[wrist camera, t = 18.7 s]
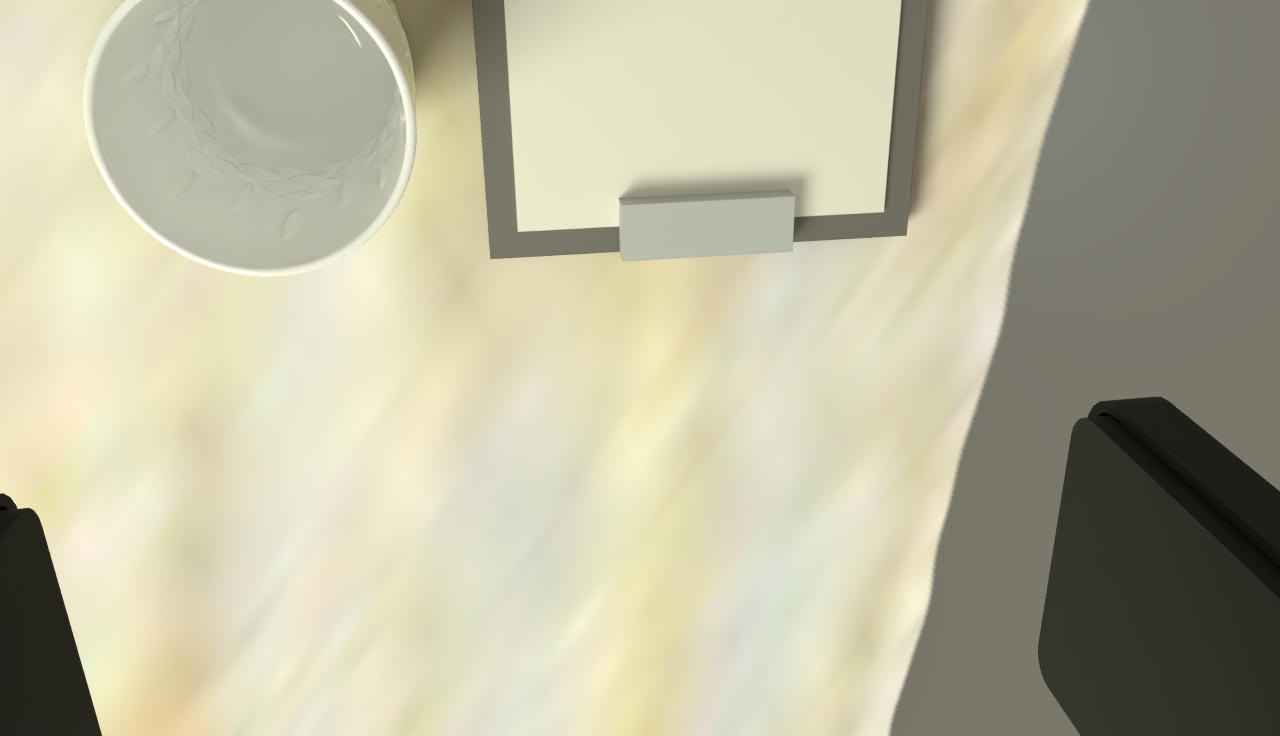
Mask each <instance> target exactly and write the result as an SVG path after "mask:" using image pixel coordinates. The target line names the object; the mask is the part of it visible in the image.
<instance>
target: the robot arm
mask: <svg viewBox="0 0 1280 736" xmlns="http://www.w3.org/2000/svg"><path fill="white" fill-rule="evenodd" d="M1038 657H1039V665H1040V669H1041V673H1042V675H1043V678H1044V681H1045V683H1046V684H1047V686H1048V688H1049V689H1050V691H1051V692H1052V694H1053V695H1054V697H1055V698H1056V700H1057V701H1058V703H1059V704H1060V706H1061V707H1062V709H1063V710H1064V712H1065V713H1066V715H1067V716H1068V718H1069V719H1070V720H1071V722H1072V723H1073V725H1074V726H1075V728H1076V729H1077V731H1078V732H1079V734H1080V735H1081V736H1280V491H1278V490H1277V489H1276V488H1275V487H1274V486H1272V485H1271V484H1270V483H1269V482H1267V481H1266V480H1265V479H1264V478H1262V477H1261V476H1260V475H1259V474H1258V473H1256V472H1255V471H1254V470H1253V469H1252V468H1250V467H1249V466H1248V465H1247V464H1245V463H1244V462H1243V461H1242V460H1240V459H1239V458H1238V457H1237V456H1235V455H1234V454H1233V453H1232V452H1231V451H1229V450H1228V449H1227V448H1226V447H1224V446H1223V445H1222V444H1221V443H1219V442H1218V441H1217V440H1216V439H1214V438H1213V437H1212V436H1211V435H1210V434H1208V433H1207V432H1206V431H1205V430H1204V429H1202V428H1201V427H1200V426H1199V425H1197V424H1196V423H1195V422H1194V421H1192V420H1191V419H1190V418H1189V417H1188V416H1186V415H1185V414H1184V413H1182V412H1181V411H1180V410H1179V409H1178V408H1176V407H1175V406H1174V405H1173V404H1172V403H1170V402H1169V401H1167V400H1165V399H1164V398H1161V397H1147V398H1136V399H1123V400H1111V401H1100V402H1098V403H1097V404H1096V405H1094V406H1093V408H1092V409H1091V411H1090V413H1089V415H1088V418H1081V419H1079V420H1078V421H1077V422H1076V424H1075V425H1074V427H1073V431H1072V434H1071V440H1070V446H1069V453H1068V459H1067V465H1066V473H1065V478H1064V485H1063V491H1062V498H1061V504H1060V510H1059V517H1058V524H1057V529H1056V536H1055V542H1054V549H1053V555H1052V562H1051V567H1050V574H1049V580H1048V587H1047V593H1046V599H1045V606H1044V612H1043V619H1042V625H1041V632H1040V638H1039V645H1038ZM0 736H102V734H101V730H100V727H99V723H98V720H97V716H96V713H95V709H94V706H93V702H92V699H91V695H90V692H89V688H88V685H87V681H86V678H85V674H84V671H83V667H82V664H81V661H80V657H79V654H78V650H77V647H76V643H75V640H74V636H73V633H72V629H71V626H70V622H69V619H68V615H67V612H66V608H65V605H64V601H63V598H62V594H61V591H60V587H59V584H58V580H57V577H56V573H55V570H54V566H53V563H52V559H51V556H50V552H49V549H48V545H47V542H46V538H45V535H44V531H43V528H42V525H41V522H40V519H39V517H38V515H37V514H36V513H35V511H34V510H32V509H30V508H23V509H17V506H16V504H15V503H14V502H13V500H12V499H11V498H10V497H9V496H7V495H5V494H4V493H3V494H0Z"/></svg>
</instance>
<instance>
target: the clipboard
mask: <svg viewBox="0 0 1280 736" xmlns="http://www.w3.org/2000/svg"><path fill="white" fill-rule="evenodd" d="M472 6H473V20H474V34H475V48H476V62H477V76H478V91H479V105H480V119H481V133H482V147H483V161H484V175H485V189H486V203H487V217H488V232H489V246H490V259H500V258H518V257H535V256H553V255H571V254H588V253H606V252H620V256H621V259H622V261H639V260H656V259H674V258H691V257H709V256H726V255H743V254H761V253H778V252H793V242H801V241H819V240H836V239H854V238H872V237H890V236H906V235H907V225H908V214H909V203H910V192H911V181H912V171H913V160H914V149H915V138H916V127H917V117H918V106H919V95H920V84H921V73H922V63H923V52H924V41H925V30H926V19H927V9H928V0H472Z"/></svg>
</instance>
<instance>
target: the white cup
mask: <svg viewBox="0 0 1280 736" xmlns="http://www.w3.org/2000/svg"><path fill="white" fill-rule="evenodd" d="M83 115H84V123H85V129H86V134H87V138H88V142H89V145H90V148H91V151H92V154H93V157H94V159H95V162H96V164H97V166H98V169H99V171H100V173H101V175H102V177H103V178H104V180H105V182H106V184H107V185H108V187H109V189H110V190H111V192H112V193H113V195H114V196H115V197H116V199H117V200H118V201H119V203H120V204H121V205H122V206H123V208H124V209H125V210H126V211H127V212H128V213H129V215H130V216H131V217H132V218H133V219H134V220H135V221H136V222H137V223H138V224H139V225H140V226H142V227H143V228H144V229H145V230H146V231H147V232H148V233H150V234H151V235H152V236H153V237H155V238H156V239H157V240H159V241H160V242H162V243H163V244H165V245H166V246H168V247H169V248H171V249H173V250H174V251H176V252H178V253H180V254H181V255H183V256H185V257H187V258H190V259H192V260H194V261H196V262H199V263H201V264H204V265H207V266H209V267H212V268H216V269H219V270H223V271H227V272H232V273H237V274H243V275H252V276H282V275H291V274H297V273H302V272H307V271H311V270H314V269H317V268H320V267H323V266H326V265H328V264H331V263H333V262H335V261H337V260H339V259H341V258H343V257H345V256H347V255H348V254H350V253H352V252H353V251H355V250H356V249H358V248H359V247H360V246H362V245H363V244H364V243H366V242H367V241H368V240H369V239H370V238H371V237H372V236H374V235H375V234H376V233H377V232H378V231H379V229H380V228H381V227H382V226H383V225H384V224H385V223H386V221H387V220H388V219H389V217H390V216H391V215H392V213H393V212H394V210H395V209H396V207H397V205H398V204H399V202H400V200H401V198H402V196H403V194H404V192H405V189H406V187H407V184H408V182H409V179H410V175H411V172H412V168H413V163H414V158H415V151H416V139H417V127H416V87H415V77H414V69H413V63H412V57H411V52H410V48H409V44H408V40H407V37H406V35H405V32H404V30H403V27H402V24H401V21H400V18H399V15H398V12H397V9H396V6H395V3H394V2H393V1H392V0H123V1H122V2H121V3H120V4H119V5H118V6H117V7H116V8H115V10H114V11H113V12H112V13H111V15H110V16H109V17H108V19H107V20H106V22H105V23H104V25H103V27H102V28H101V30H100V32H99V34H98V36H97V38H96V40H95V42H94V44H93V47H92V50H91V52H90V55H89V59H88V62H87V66H86V71H85V77H84V84H83Z"/></svg>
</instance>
